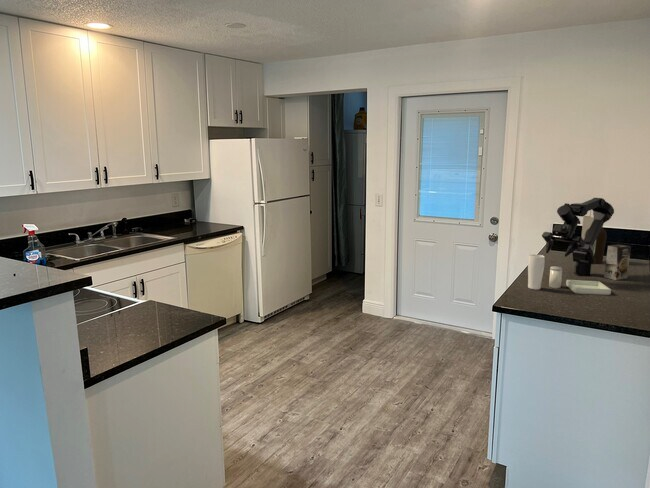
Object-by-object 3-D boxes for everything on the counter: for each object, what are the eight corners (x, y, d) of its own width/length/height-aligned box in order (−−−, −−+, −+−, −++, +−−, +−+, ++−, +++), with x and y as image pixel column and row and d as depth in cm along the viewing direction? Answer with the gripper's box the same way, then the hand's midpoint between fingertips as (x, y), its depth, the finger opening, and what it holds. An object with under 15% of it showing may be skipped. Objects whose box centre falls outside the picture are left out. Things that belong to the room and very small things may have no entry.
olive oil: (591, 259, 285) (595, 216, 281) (608, 263, 276) (613, 218, 271) (577, 261, 281) (582, 217, 276) (594, 264, 271) (599, 219, 267)
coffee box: (616, 280, 239) (620, 247, 236) (603, 277, 244) (607, 245, 241) (627, 278, 243) (631, 245, 240) (615, 275, 249) (618, 243, 246)
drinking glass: (541, 287, 226) (544, 254, 224) (542, 291, 220) (545, 257, 217) (525, 285, 228) (528, 253, 226) (526, 289, 222) (529, 256, 219)
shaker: (559, 285, 229) (560, 266, 228) (562, 288, 224) (563, 268, 223) (547, 285, 230) (549, 266, 229) (550, 287, 225) (552, 268, 224)
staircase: (600, 253, 305) (605, 211, 301) (579, 251, 311) (584, 210, 306) (601, 251, 312) (605, 210, 307) (580, 249, 318) (584, 209, 313)
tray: (598, 286, 228) (599, 281, 227) (610, 295, 214) (610, 289, 214) (566, 285, 230) (566, 279, 230) (575, 293, 217) (576, 287, 216)
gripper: (544, 215, 239) (530, 242, 236) (582, 219, 224) (568, 248, 221) (553, 227, 245) (539, 254, 242) (591, 232, 230) (577, 261, 227)
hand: (555, 254), depth 233 cm, fingers open, 9 cm apart
